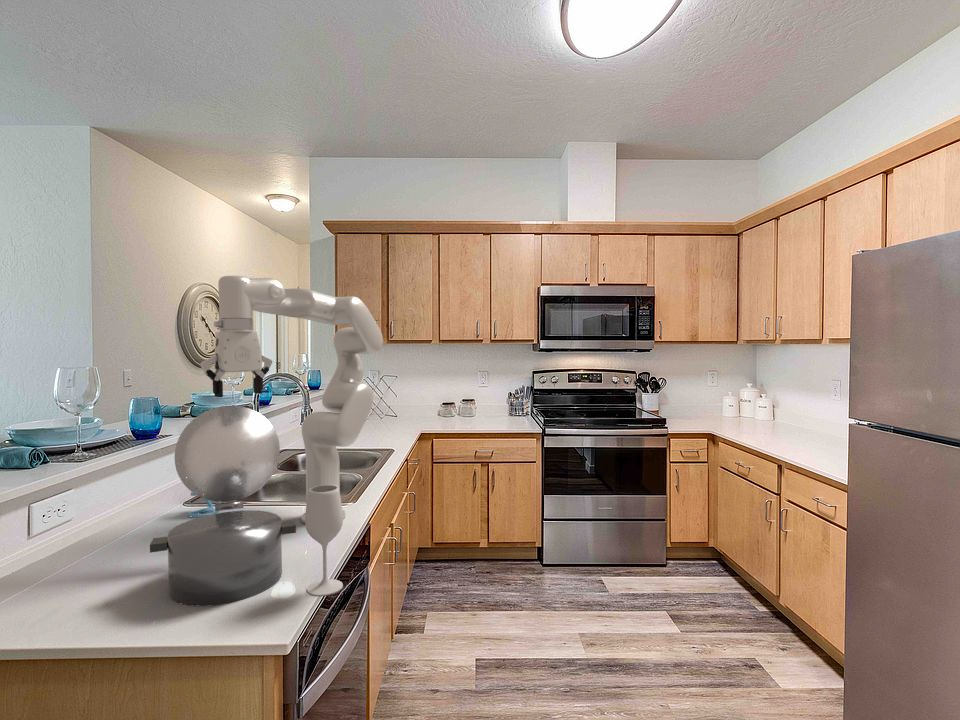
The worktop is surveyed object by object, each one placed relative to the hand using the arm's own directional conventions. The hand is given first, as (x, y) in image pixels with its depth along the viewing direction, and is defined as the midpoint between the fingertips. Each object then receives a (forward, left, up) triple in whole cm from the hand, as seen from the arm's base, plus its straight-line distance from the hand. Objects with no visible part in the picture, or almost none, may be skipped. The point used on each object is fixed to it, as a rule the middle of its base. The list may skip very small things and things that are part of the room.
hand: (238, 395), depth 131 cm
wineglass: (+31, +17, -39) cm, 52 cm away
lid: (+4, -2, -14) cm, 15 cm away
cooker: (+19, -2, -39) cm, 43 cm away
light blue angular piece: (-36, -10, -39) cm, 55 cm away
